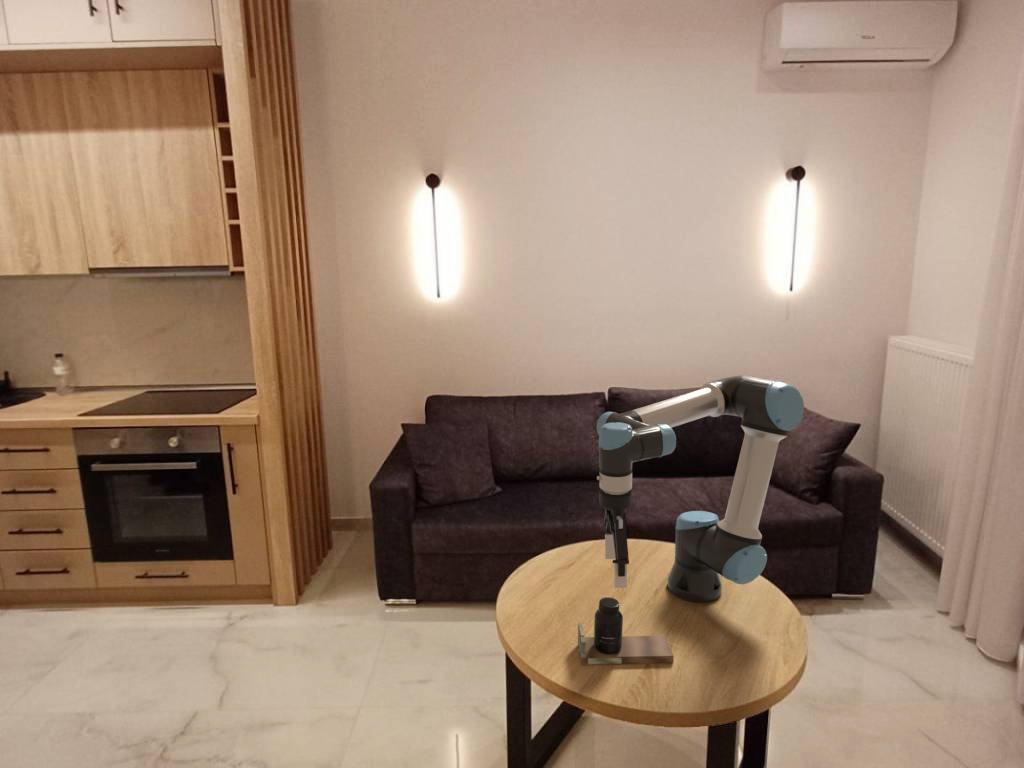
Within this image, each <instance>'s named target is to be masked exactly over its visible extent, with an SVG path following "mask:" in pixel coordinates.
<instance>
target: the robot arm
mask: <svg viewBox="0 0 1024 768" xmlns="http://www.w3.org/2000/svg"><path fill="white" fill-rule="evenodd" d="M804 413H805V402H804V399H803V396H802V395H801V392H800V391H799V389H798V388H796V387H795V386H794V385H791V384H789V383H785V382H784V381H783V382H782V381H780V380H772V379H767V378H763V377H762V378H761V377H757V376H752V375H745V374H743V375H734V376H729V377H725V378H724V377H723V378H720V379H717V380H713V381H710V382H707V383H704V384H703V385H702V386H701V387H700V388H699V389H697V390H693V391H691V392H687V393H683V394H681V395H678V396H674V397H672V398H671V397H670V398H668V399H665V400H662V401H658V402H655V403H652V404H651V403H650V404H648V405H646V406H642V407H639V408H635V409H632V410H629V411H625V412H622V413H618V412H615V411H606V412H604V413H602V414H601V415H600V416H599V418H598V420H597V422H596V433H597V434H598V459H599V460H598V463H599V464H598V465H599V467H598V468H599V471H598V472H599V475H597V476H596V480H597V481H599V488H600V489H599V493H598V494H599V502H598V503H599V505H600V506H601V507H602V508H604V509H605V510H604V517H603V518H604V519H603V527H604V533H605V534H604V547H605V548H604V558H605V560H612V564H614V567H613V568H614V570H613V571H614V577H613V578H614V583H613V584H614V589H621V588H622V589H623V588H624V589H625V588H627V587H628V586H627V585H628V577H627V576H628V565H630V559H629V549H628V548H629V546H628V545H629V544H628V536H627V535H628V533H627V523H628V522H627V518H626V514H625V513H624V511H625V510H627V509H629V508H631V506H632V505H633V504H632V503H633V500H632V499H633V497H632V496H633V491H632V488H633V463H636V462H640V461H646V460H650V459H654V458H662V457H663V456H667V455H671V454H672V453H673V452H674V451H675V449H676V446H677V437H676V436H677V435H676V433H675V431H674V430H673V428H674V427H678V426H681V425H684V424H686V423H690V422H693V421H696V420H699V419H701V418H705V417H713V418H716V417H720V416H724V415H725V416H726V415H727V416H734V417H740V418H741V423H740V427H741V429H742V430H743V432H744V437H743V441H742V445H741V449H740V452H739V457H738V461H737V466H736V469H735V473H734V476H733V477H734V478H733V481H732V482H733V483H732V486H731V490H730V495H729V497H728V502H727V508H726V511H725V515H724V518H723V519H719V516H718V515H717V514H716V513H713V512H710V511H704V510H692V511H685V512H682V513H680V514H679V515H678V516H677V518H676V524H675V527H674V528H675V535H674V536H675V541H674V545H675V546H674V550H675V551H674V563H673V565H672V567H671V570H670V572H669V573H668V574H669V575H668V578H667V588H668V590H669V591H670V592H671V594H673V595H675V597H678V598H680V599H683V600H686V601H687V602H688V601H689V602H695V603H707V602H708V603H709V602H712V601H715V600H717V599H718V598H719V597H721V595H722V588H723V587H722V581H721V578H720V576H721V577H723V578H724V579H725V580H728V581H731V582H733V583H734V584H737V585H746V584H749V583H752V582H753V581H755V579H757V578H758V577H759V576H760V575H761V574H762V572H763V571H764V569H765V567H766V565H767V561H768V554H767V552H766V550H765V548H764V547H763V546H762V545H761V543H762V539H763V535H762V533H761V532H760V530H759V526H760V525H759V524H760V521H761V517H762V512H763V508H764V505H765V501H766V496H767V493H768V488H769V484H770V480H771V477H772V472H773V467H774V465H775V460H776V455H777V452H778V448H779V443H780V442H781V440H783V439H785V438H787V437H788V434H789V431H792V430H795V429H796V428H797V427H798V426H799V424H800V423H801V422H802V419H803V417H804Z"/></svg>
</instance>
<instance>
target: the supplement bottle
mask: <svg viewBox="0 0 1024 768" xmlns="http://www.w3.org/2000/svg"><path fill="white" fill-rule="evenodd" d="M623 623H624V620H623V613H622V612H621V611H620V603H619V601H618V599H616V598H614V597H602V598H600V599H599V601H598V609H597V610H596V611H595V613H594V624H593V625H594V626H593V629H594V630H593V637H594V646H595V648H596V649H597V650H598V651H599V652H601V653H604V654H615V653H617V652H619V651H620V650H621V647H622V636H623V626H624V625H623Z"/></svg>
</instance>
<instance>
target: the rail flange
mask: <svg viewBox="0 0 1024 768" xmlns="http://www.w3.org/2000/svg"><path fill="white" fill-rule="evenodd" d="M583 626H584V625H583V622H578V623H577V647H578V653H579V657H580V663H581V665H582V666H586V665H588V666H590V665H591V666H592V665H593V666H594V665H601V666H602V665H631V664H632V665H642V664H643V665H644V664H645V665H650V664H673V663H674V654H673V651H672V648H671V646H670V644H669V642H668V640H667V637H666V635H635V636H634V635H632V636H630V635H629V636H626V635H625V636H623V635H622V647H621V650H620V651H619V652H617V653H615V654H604V653H601V652H599V651H598V650H597V649H596V648H595V646H594V636H586V635H585V631H584V627H583Z"/></svg>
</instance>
